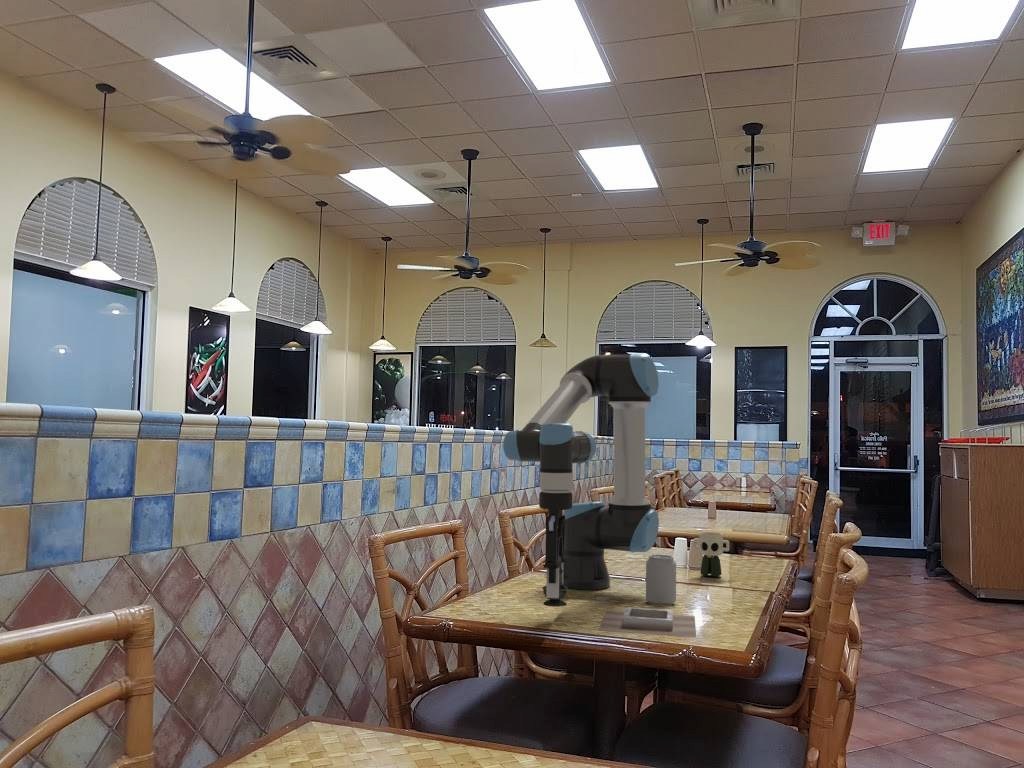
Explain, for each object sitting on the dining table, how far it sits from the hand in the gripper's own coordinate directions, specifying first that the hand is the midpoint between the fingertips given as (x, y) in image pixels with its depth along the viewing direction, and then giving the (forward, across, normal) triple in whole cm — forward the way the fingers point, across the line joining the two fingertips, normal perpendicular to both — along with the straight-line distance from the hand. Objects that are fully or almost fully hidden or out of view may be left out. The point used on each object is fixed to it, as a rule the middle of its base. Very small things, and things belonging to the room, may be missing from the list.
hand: (554, 594), depth 180 cm
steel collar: (+5, 0, +21) cm, 21 cm away
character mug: (+8, -73, +37) cm, 82 cm away
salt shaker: (+2, 0, 0) cm, 2 cm away
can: (+7, -28, +23) cm, 36 cm away
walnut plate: (+6, 0, +21) cm, 22 cm away
